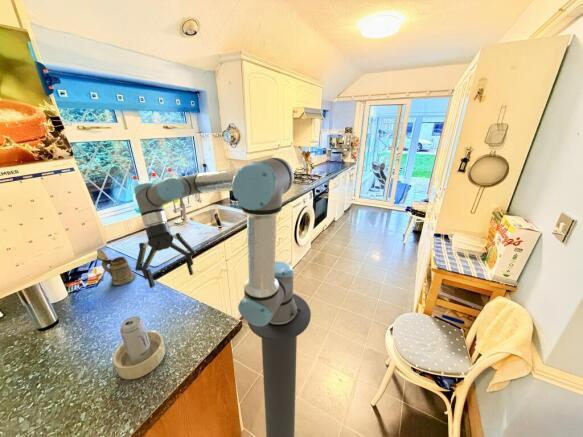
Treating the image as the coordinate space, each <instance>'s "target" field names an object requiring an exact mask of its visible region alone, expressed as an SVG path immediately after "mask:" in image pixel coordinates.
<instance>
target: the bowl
mask: <svg viewBox="0 0 583 437" xmlns="http://www.w3.org/2000/svg"><path fill="white" fill-rule="evenodd" d="M146 332H147V335H148V339H149V342H150V346H151V349H152V355H151V357H150V358H148V359H147V360H145V361H143V362H142V363H139V364H137V365H132V364H131V363H130V360H129V357H128V354H127V351H126V348H125V345H124V342H123V341H122V342H121V344H120V345H119V346H118V347H117V348H116V350H115V351H114V353H113V357H112V362H113V364H114V368H115V370H116V373H117V375H118V377H120V378H121V379H125V380H135V379H139V378H141V377H144V376H146V375H148V374H149V373H151V372H152V371H154V370H155V369H156V368H157V367H158V366H159V365H160V364H161V362H162V361H163V360H164V357H165V355H166V346H165V345H166V344H165V341H164V338H163V335H162V334H161V333H160V332H158V331H156V330H146Z"/></svg>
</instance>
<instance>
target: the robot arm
mask: <svg viewBox="0 0 583 437" xmlns="http://www.w3.org/2000/svg"><path fill="white" fill-rule="evenodd" d="M294 180H295V173H294V170H293V168H292V165H291V164H290V163H289V162H287V161H286V160H285V159H283V158H281V157H270V158H267V159H262V160H258V161H252V162H250V163H247V164H245V165H242V167H238V168H229V169H224V170H222V169H221V170H216V171H209V172H208V171H207V172H197V173H191V174H189V175H184V176H180V177H167V178H165V179H162V180H160V181H158V182H157V183H154V182H143V183H140V184H137V185H135V186H134V188H133V189H134V197H135V200H136V203H137V207H138V210H139V214H140V215H141V219H142V223H143V227H145V229H144V230H145V233H146V237H147V240H148V241H147V242H146V241H145V242H140V243H139V244H138V247H139V252H138V254H137V255H138V256H137V260H136V264H135V267H134V269H135V271H138V272H139V271H140V272H142V276H143V278H144V280H147V281H148V285H149V288H150V289H152V288H154V287H155V286H156V284H155V281H154V276H153V274H152V270H151V268H149V266H150V265H151V263H152V260H153V259H154V257H155V254H156V253H157V252H159V251H163V250H168V249H169V248H171V249H173V250H175V251H176V252H178V253H180V254H182V256H184V257H185V263H186V267H187V269H188V274H189V276H192V275H193V274H194V270H193V265H194V261H193V257H192V256H193V255H195V254H196V250H195V249H194V248H193V247H192V245H190V244H189V243H188V242H187V241H186V240H185V239H184V238H183V236H182V233H180V232H176V234H172V233H171V229H170V226H169V223H168V219H167V216H166V213H165V209H164V206H165V205H167V204H170V203H172V202H175V201H178V200H181V199H183V198H186V197H190V196H192V195H198V194H205V193H206V194H208V193H218V192H230V191H231V192H232V195H233V197H234V199H235V200H237V203H238V205H239V206H240V209H241V212H243V213H244V214H245V215H246V225H247V226H246V233H247V235H246V236H247V269H248V273H247V274H248V278H247V279H246V280H245V282H244V285H243V290H244V291H243V292H244V294H243V295H244V296H243V297H242V299H240V301H239V303H238V305H237V307H238V308H237V310H238V312H239V315H240V316H241V317H242V319H244V320H245V321H246V322H249V323H250V324H252V325H255V326H265V325H267V324H269V325H272V326H285V325H287V324H289V323H291V322H292V321H293V320H294V319H295V318H296V315H297V310H298V311H299V312H300V311H301V310H300V309H298V308H297V306H296V304H295V301H294V299H293V294H294V268H293V266H291V265H290V263H287V262H284V261H280V260H279V261H276V245H277V244H276V242H277V240H276V238H277V215H278V214H279V213H280V212H282V209H283V208H282V207H283V195H284V194H286V193H287V192H289V190H290V189H291V188H292V186H293V184H294ZM174 239H175V240H178V242H179V243H181V245H183V247H184V248H185V249H186V250H185V249H183V248H181V247H180V246H179V245H177V244H176V243H174V242H173V241H174ZM148 246H149V247H150V250H149V253H148V255H147V257H146V259H145V256H146V251H147V248H148Z"/></svg>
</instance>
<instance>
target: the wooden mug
mask: <svg viewBox="0 0 583 437" xmlns="http://www.w3.org/2000/svg"><path fill="white" fill-rule="evenodd" d="M97 253H98V256H97V259H96V260H98V261H101V267H102V269H103V270H104V271H105V272H107V273H108V274H109V275H110V276H111V279H110V280H111V283H112V284H113V285H114V286H121V285H125V284H128V283H130V282H132V281H133V280H134V279H135V274H134V272H133V270H132V269H131V267H130V265H129V261H128V260H127V258H126V257H125V256H118V257H115V258H112V259H111V258H108V257H107V254H106V253H105V251H102V250H101V249H98V251H97ZM108 266H109V267H108Z"/></svg>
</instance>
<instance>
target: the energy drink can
mask: <svg viewBox="0 0 583 437" xmlns="http://www.w3.org/2000/svg"><path fill="white" fill-rule="evenodd" d="M145 325H146V324H145V322H144V320H143V319H142V318H140V316H131V317H129V318H127V319H125V320H124V321H122V323H121V325H120V330H119V333H120V336H121V339H122V343H123V342H124V345H125V348H126V351H127V354H128V357H129V360H130V363H131V364H132V365H137V364H139V363H142V362H143V361H145V360H147V359H148V358H150V357H151V355H152V349H151V346H150V342H149V339H148V335H147V332H146V331H147V328H146V326H145Z"/></svg>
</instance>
